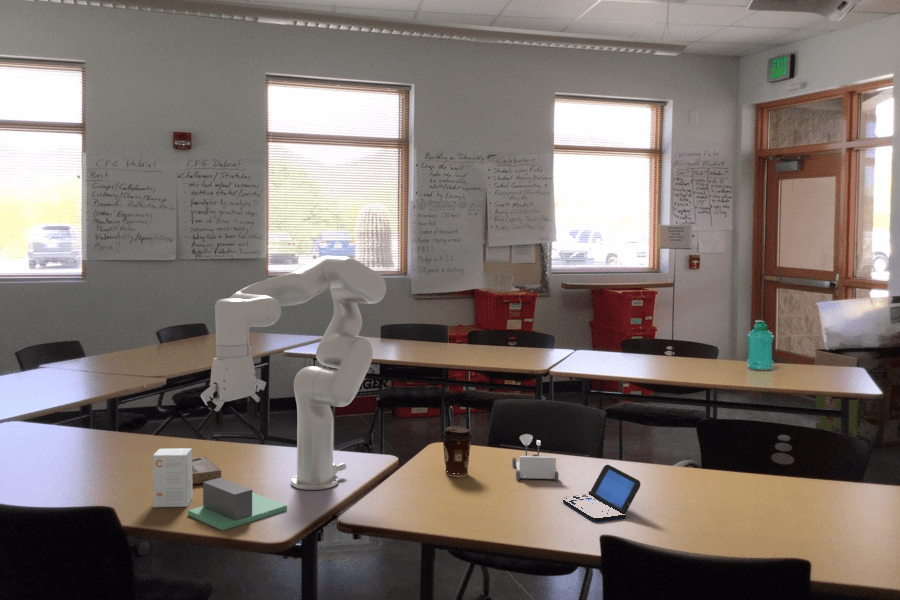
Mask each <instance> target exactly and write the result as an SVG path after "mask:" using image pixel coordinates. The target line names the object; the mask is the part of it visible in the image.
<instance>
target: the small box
mask: <svg viewBox="0 0 900 600" xmlns="http://www.w3.org/2000/svg"><path fill="white" fill-rule="evenodd" d="M192 449H193V448H190V447H189V448H188V447H186V448H181V447H180V448H159V449H157V451H155V452H154V453H153V455H152V498H153V499H152V503H153V505H152V506H153V508H182V507H183V508H186V507H188V505H190V503H191V501H192V499H193V495H194V494H193V486H194V484H193V483H192V458H193V450H192Z"/></svg>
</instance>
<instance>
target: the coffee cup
mask: <svg viewBox="0 0 900 600" xmlns="http://www.w3.org/2000/svg"><path fill="white" fill-rule="evenodd" d="M441 435H442V437H443V439H444V440H443V443H442V445H443V447H442V448H443V456H444V464H445V475H447V476H450V477H454V478H464V477H467V476H468V474H469V471H468V470H469V461H470V453H471V452H470V451H471V442H472V441H471V439H473V435H472V433H471V432H470V429H469V428H466V427H464V426H459V425H458V426H453V425H452V426H451V425H450V426H447V427H446V428H445V429H444V430H443V432H442V433H441ZM447 471H448V472H447ZM453 473H455V474H453ZM458 473H459V474H458Z"/></svg>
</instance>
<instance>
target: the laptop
mask: <svg viewBox="0 0 900 600" xmlns="http://www.w3.org/2000/svg"><path fill="white" fill-rule="evenodd" d="M601 469H602V470H601V471H600V473H599V474H598V477H597V479H596V480H595V482H594V483H593V486H592V487H591V490H589V491H588V492H587V494H589V495H591V496H593V497H594V498H595V499H596V500H598V501H599V502H602V503H603V504H605V505H608V506H609V507H610V508H611V507H612V508H613V509H615V510H617V511H619V512H620V513H622V514H626V515H618V516H611V517H603V518H593V517H591V516H589V515H587V514H586V513H584V512H582V511H581V510H579V509H578V508H576V507H574V506H573V505H571V504H570V503H568V502H566V501H565V500H563V499H562V502H563V504H565V505H567V507H570V508H571V509H572V510H573V511H576V512H577V513H579V514H580V515H581V516H582V517H584V518H586V519H587V520H590V522H594V523H603V522H609V521H610V522H611V521H618V520H625V519H626V518H627V512H628V510H629V508H630V506H631V505H632V502H633V500H634V499H635V497H636V495H637V493H638V491H639V490H640V488H641V481H640V480H639V479H637V478H636V477H633V476H631V475H629V474H628V473H625V472H624V471H621V470H620V469H618V468H616V467H614V466H613V465H610V464H605V465H604V466H603V467H602V468H601ZM582 495H583V496H582V497H588V496H586V494H582ZM572 496H573V498H576V499H579V498H580V497H576V496H577V495H572ZM565 497H566V496H563V498H565ZM566 499H567V498H566ZM586 499H588V501H589V500H591V499H592V498H586ZM586 499H585V500H586ZM595 499H593V500H595ZM579 500H581V501H582V500H584V499H579ZM573 501H577V500H571V501H569V502H571V503H572V504H574V505H575V504H576V503H574V502H573ZM592 504H593V503H592ZM581 508H582V507H581ZM582 509H583V508H582ZM608 511H609V510H608ZM602 512H603V511H602ZM607 514H608V513H607Z"/></svg>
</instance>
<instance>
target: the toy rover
mask: <svg viewBox="0 0 900 600" xmlns="http://www.w3.org/2000/svg"><path fill="white" fill-rule="evenodd" d="M533 438H534V437H533V435H532V434H529V433H525V434H521V435H520V436H519V441H521V443H522V444H523V445H524V446H525V455H519V460H517V458H516V457H512V459H511V460H512V461H511V462H512V463H511V464H512V468H516V472H515V479H516V481H520V479H538V480H541V479H545V480H554V482H557V483H558V482H559V470H558V471H557V470H556V469H557V468H556V467H557V465H556V464H557V458H556V456H543V455H540V446H542V445H541V443H542V442H541V440H540V439H539V440H538V439H536V445H537V454H535V453H534V454H533V455H528V446H530V444H531V443H532V441H533ZM524 476H526V477H524Z"/></svg>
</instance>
